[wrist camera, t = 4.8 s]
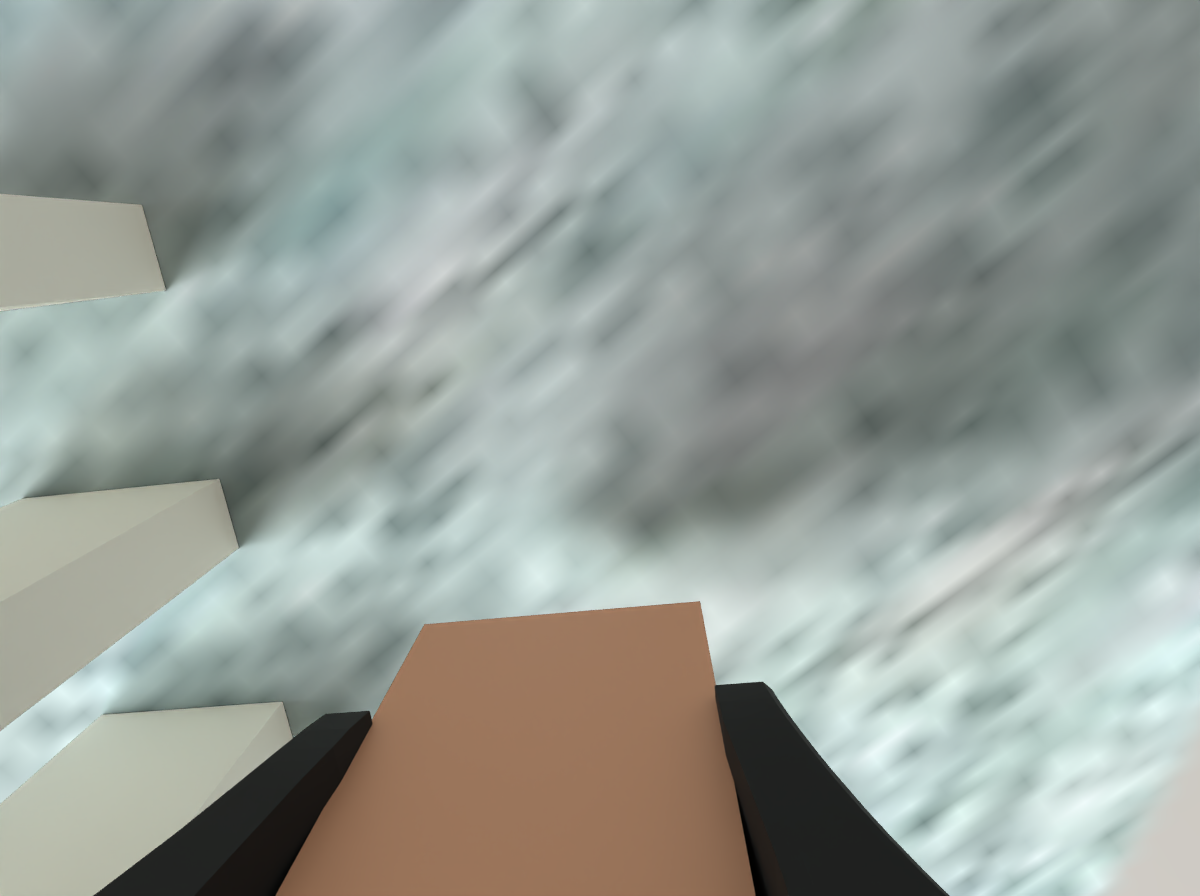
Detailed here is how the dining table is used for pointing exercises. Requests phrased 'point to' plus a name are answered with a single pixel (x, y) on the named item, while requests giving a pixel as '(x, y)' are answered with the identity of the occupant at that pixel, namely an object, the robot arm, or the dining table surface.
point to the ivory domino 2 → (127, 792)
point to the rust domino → (539, 767)
